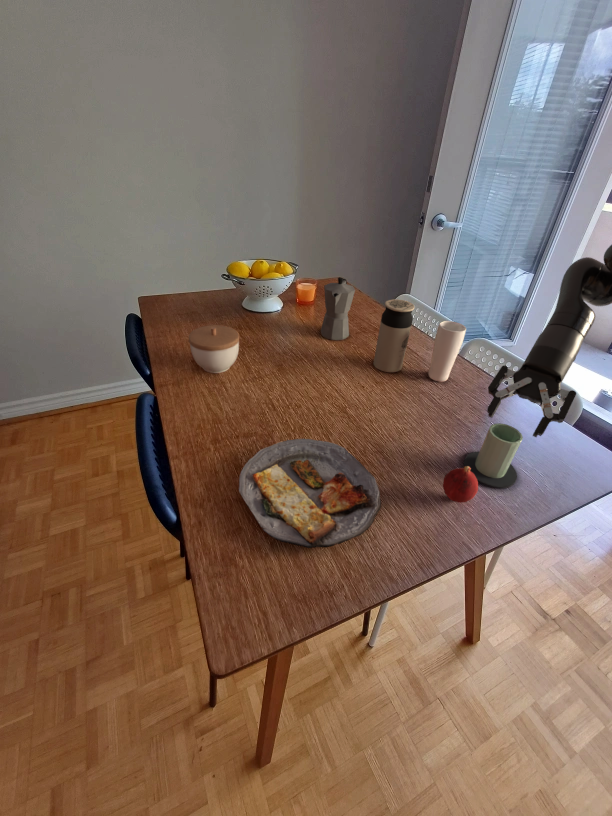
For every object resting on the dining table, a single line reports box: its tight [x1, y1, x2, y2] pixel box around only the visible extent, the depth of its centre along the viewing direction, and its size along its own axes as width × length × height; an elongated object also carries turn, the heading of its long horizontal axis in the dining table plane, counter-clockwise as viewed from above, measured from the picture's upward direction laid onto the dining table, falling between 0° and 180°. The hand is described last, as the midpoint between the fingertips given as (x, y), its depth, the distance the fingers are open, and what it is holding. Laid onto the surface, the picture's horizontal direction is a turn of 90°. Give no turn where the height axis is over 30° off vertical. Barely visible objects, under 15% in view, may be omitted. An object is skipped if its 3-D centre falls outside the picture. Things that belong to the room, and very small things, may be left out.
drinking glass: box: [427, 320, 467, 383], centre depth 104 cm, size 7×7×15 cm
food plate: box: [238, 438, 382, 549], centre depth 71 cm, size 25×23×4 cm
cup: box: [475, 422, 524, 478], centre depth 77 cm, size 6×6×9 cm
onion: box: [442, 466, 479, 503], centre depth 70 cm, size 6×6×8 cm
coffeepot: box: [320, 276, 356, 341], centre depth 122 cm, size 15×9×18 cm, turn 164°
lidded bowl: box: [188, 324, 240, 374], centre depth 103 cm, size 13×13×11 cm
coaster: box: [463, 450, 518, 490], centre depth 79 cm, size 10×10×1 cm
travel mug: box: [373, 298, 416, 373], centre depth 106 cm, size 8×8×18 cm
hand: (511, 425), depth 77 cm, fingers open, 8 cm apart
